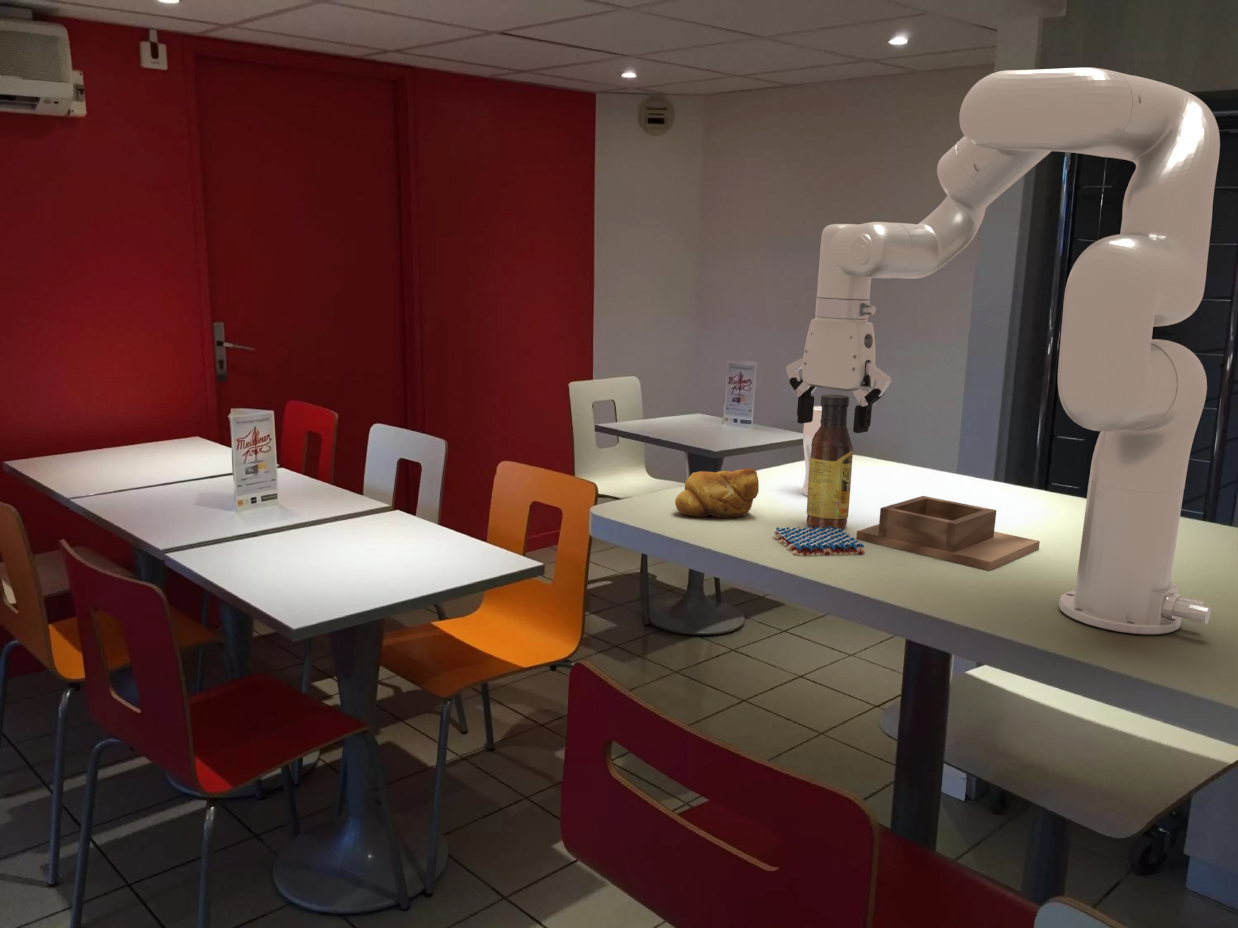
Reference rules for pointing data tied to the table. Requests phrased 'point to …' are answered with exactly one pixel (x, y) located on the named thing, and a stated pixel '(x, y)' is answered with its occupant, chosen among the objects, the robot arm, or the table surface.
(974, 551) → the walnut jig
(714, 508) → the bread roll
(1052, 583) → the table surface
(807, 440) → the beer glass
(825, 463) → the sauce bottle
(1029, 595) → the table surface
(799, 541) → the woven mat
